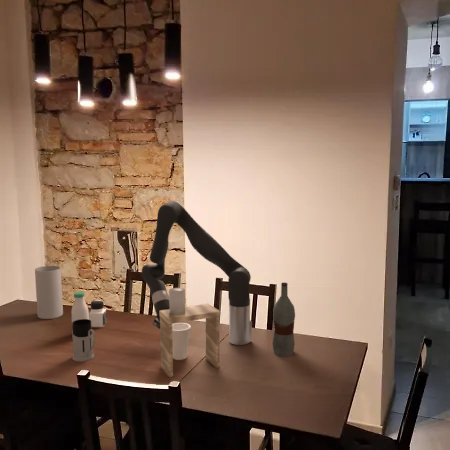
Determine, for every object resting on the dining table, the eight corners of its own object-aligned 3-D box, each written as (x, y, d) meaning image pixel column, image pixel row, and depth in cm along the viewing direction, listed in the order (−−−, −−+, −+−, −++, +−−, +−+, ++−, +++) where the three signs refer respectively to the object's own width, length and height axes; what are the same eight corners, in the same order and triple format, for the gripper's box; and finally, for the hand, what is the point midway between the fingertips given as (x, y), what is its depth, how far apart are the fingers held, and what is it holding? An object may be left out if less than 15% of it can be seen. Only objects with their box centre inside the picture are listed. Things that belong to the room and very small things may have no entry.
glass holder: (87, 351, 217) (85, 317, 215) (105, 360, 207) (103, 325, 205) (68, 356, 211) (66, 322, 209) (85, 367, 201) (84, 330, 199)
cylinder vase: (32, 319, 258) (29, 270, 255) (45, 311, 271) (42, 265, 267) (55, 320, 256) (53, 271, 253) (67, 312, 268) (65, 266, 265)
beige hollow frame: (208, 357, 210) (208, 303, 207) (220, 367, 200) (219, 311, 197) (160, 366, 201) (159, 310, 198) (170, 377, 191) (169, 319, 188)
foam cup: (187, 362, 205) (187, 331, 204) (165, 360, 207) (164, 329, 205) (193, 353, 215) (193, 323, 213) (172, 351, 216) (171, 322, 215)
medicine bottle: (103, 327, 246) (102, 303, 244) (88, 327, 246) (87, 303, 244) (107, 322, 253) (106, 299, 251) (92, 322, 253) (91, 299, 251)
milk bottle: (93, 333, 237) (91, 292, 234) (80, 339, 231) (78, 296, 228) (81, 330, 241) (79, 289, 239) (68, 335, 235) (66, 293, 232)
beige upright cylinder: (181, 309, 199) (181, 287, 198) (187, 313, 194) (187, 290, 193) (167, 311, 197) (166, 289, 195) (172, 316, 191) (172, 292, 190)
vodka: (267, 352, 215) (268, 283, 211) (280, 346, 222) (281, 279, 217) (286, 358, 209) (287, 287, 205) (298, 352, 216) (300, 283, 211)
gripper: (149, 300, 222) (159, 336, 213) (177, 296, 228) (188, 331, 219) (146, 309, 227) (155, 344, 218) (173, 305, 233) (184, 339, 224)
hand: (171, 338), depth 218 cm, fingers closed
